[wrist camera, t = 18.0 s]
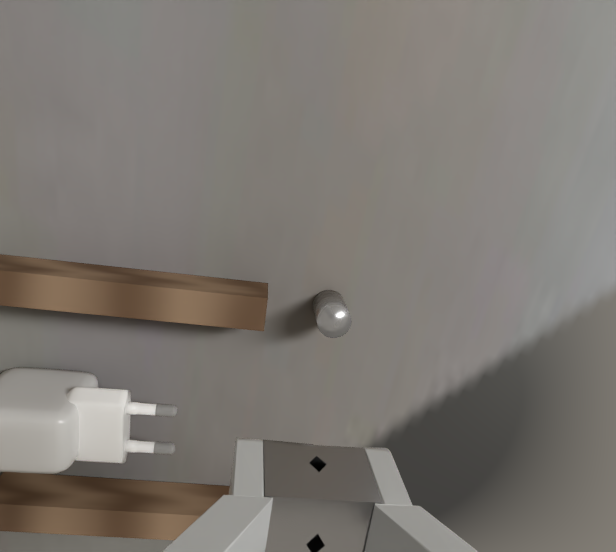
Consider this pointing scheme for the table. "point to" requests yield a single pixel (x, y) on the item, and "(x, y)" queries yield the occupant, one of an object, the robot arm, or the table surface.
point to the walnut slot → (130, 304)
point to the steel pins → (331, 314)
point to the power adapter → (67, 421)
